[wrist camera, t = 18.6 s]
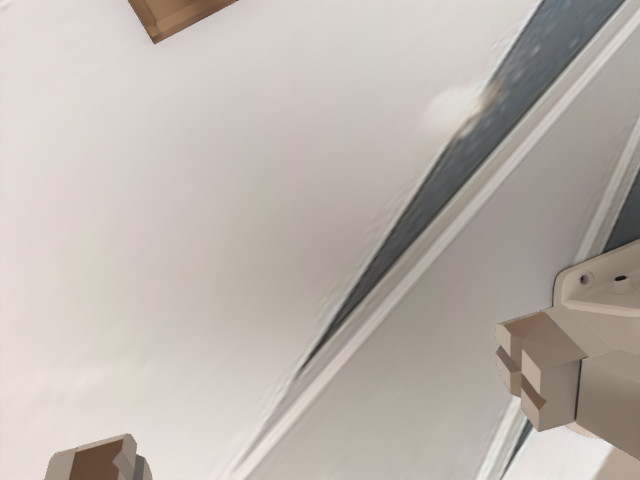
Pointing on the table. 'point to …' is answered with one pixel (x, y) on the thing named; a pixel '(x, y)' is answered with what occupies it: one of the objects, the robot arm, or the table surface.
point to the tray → (173, 14)
